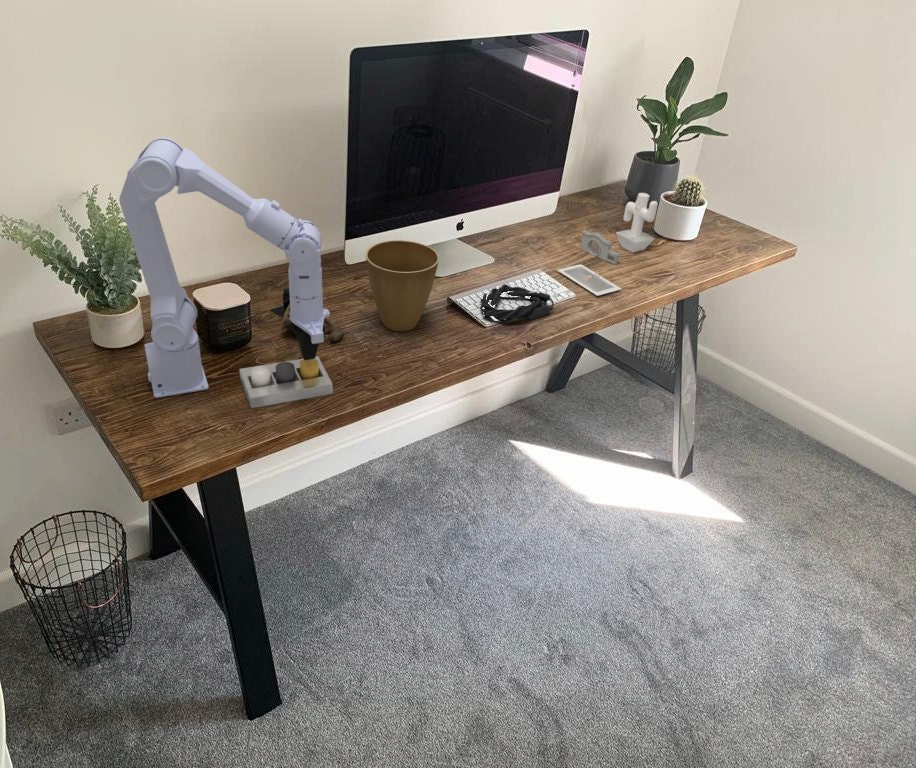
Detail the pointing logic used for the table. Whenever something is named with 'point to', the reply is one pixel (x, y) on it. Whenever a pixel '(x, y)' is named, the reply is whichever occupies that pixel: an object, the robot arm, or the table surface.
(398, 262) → the plant pot
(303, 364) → the amber button
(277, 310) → the black mount on base
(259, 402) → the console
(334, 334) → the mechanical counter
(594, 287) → the touchpad
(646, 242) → the figurine
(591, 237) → the grey bracket plate
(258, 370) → the white button
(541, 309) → the cable
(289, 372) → the dark grey rounded block
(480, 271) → the table surface
